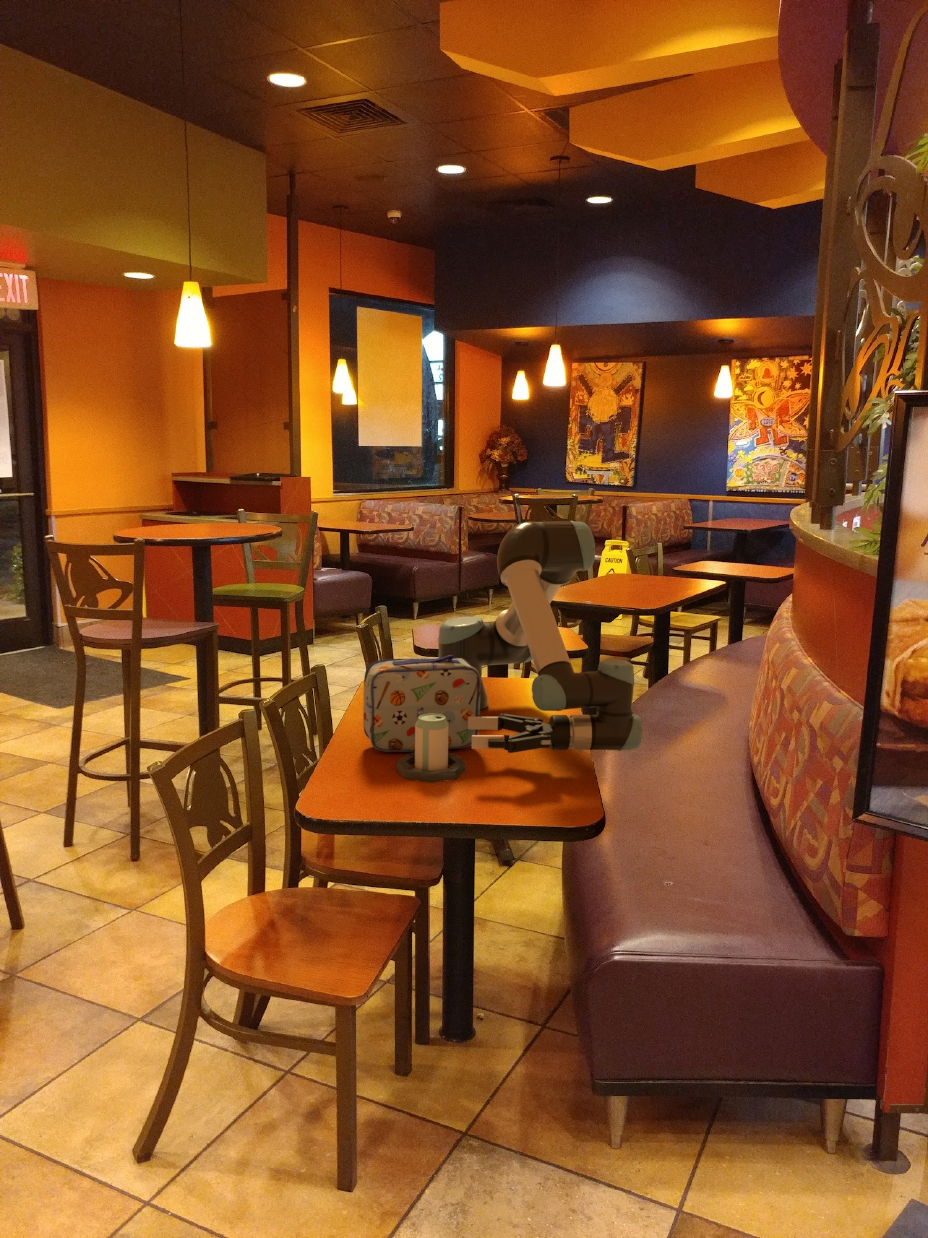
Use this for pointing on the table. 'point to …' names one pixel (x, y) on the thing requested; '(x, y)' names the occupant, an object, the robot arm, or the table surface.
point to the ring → (431, 775)
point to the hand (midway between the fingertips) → (469, 732)
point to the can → (431, 742)
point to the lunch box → (419, 700)
